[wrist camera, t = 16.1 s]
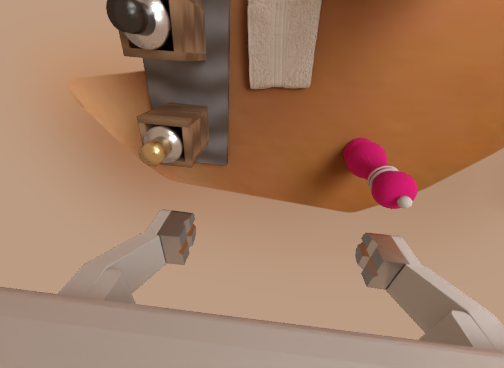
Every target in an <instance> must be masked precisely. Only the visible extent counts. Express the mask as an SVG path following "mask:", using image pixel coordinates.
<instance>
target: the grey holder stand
mask: <svg viewBox="0 0 504 368" xmlns="http://www.w3.org/2000/svg"><path fill="white" fill-rule="evenodd" d="M161 1H162V3H163V4H164V6H165V8H166V10H167V13H168V16H169V20H171V26H172V35H169V37H168V39H167V41H166V43H165V44H164V45H163V46H162V47H160V48H158V49H154V50H149V49H143V48H140V47H138V46H136V45H135V44H134V43H132V42H131V41H130V40H129V39H128V38H127V36H126V35H125V33H124V32H122V31H120V30H119V34H120V39H121V43H122V48H123V53H124V56H130V57H141V58H143V63H144V69H145V75H146V81H147V86H148V92H149V98H150V104H151V110H150V111H148V112H146V113H143V114H141V115H139V116H137V120H138V125H139V130H140V134H141V139H142V144H143V146H144V136H145V134H146V132H147V131H148V130H150V129H151V128H153V127H156V126H165V127H168V128H170V129H174V128H175V127H182V134H183V138H182V139H181V141H182V144H183V151H182V154H181V156H180V157H179V158H178V159H177V160H176V161H174V162H172V163H162V162H161V163H160V164H161V165H171V166H181V167H190V168H192V166H193V165H194V164H195V162H197V163H207V164H217V165H227V164H228V116H229V48H230V0H161Z"/></svg>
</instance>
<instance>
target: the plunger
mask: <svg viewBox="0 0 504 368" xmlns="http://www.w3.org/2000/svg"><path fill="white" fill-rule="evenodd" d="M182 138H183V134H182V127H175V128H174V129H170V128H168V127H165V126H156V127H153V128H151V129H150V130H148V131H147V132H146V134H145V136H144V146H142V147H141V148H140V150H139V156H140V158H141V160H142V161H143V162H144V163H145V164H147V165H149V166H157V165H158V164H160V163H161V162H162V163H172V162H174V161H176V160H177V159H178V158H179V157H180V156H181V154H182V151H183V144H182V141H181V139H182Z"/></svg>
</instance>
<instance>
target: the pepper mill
mask: <svg viewBox="0 0 504 368" xmlns="http://www.w3.org/2000/svg"><path fill="white" fill-rule="evenodd" d="M343 157H344V159H345V161H346V165H347V168H348V169H349V170H350V171H351V172H352V173H353V174H354V175H356V176H358V177H361V178H365V179H367V183H368V186H369V187H370V188H371V191H372V196H373V198H374V199H375V201H376V202H377V203H378V204H380V205H382V206H383V207H386V208H391V209H397V208H409V207H410V206H411V205H412V201H413V200H414V199H415V197H416V194H417V185H416V182H415V181H414V179H413V178H412V177H411V176H409V175H408V174H406V173H404V172H400V171H398V170H397V169H396V168H395V167H392V166H388V164H387V156H386V153H385V151H384V150H383V148H382V147H381V146H380V145H378V144H376V143H373V142H371V141H369V140H368V139H365V138H358V139H355V140H352V141H351V142H349V143H348V144H347V146H346V147H345V149H344V152H343Z"/></svg>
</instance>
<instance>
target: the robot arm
mask: <svg viewBox="0 0 504 368" xmlns="http://www.w3.org/2000/svg"><path fill="white" fill-rule="evenodd" d="M194 220H195V218H194V214H193V213H187V212H179V211H170V210H161V211H160V212H159V213H158V214H157V216H156V217H155V219H154V220H153V221H152V223H151V224H150V226H149V227H148V229H147V230H146V231H145V233H144V234H141V233H140V234H139V235H137V236H135V237H133V238H132V239H130V240H128V241H126V242H124V243H122V244H120V245H118V246H117V247H115V248H113V249H111V250H109V251H107V252H106V253H104V254H102V255H100V256H98V257H96V258H95V259H93V260H91V261H89V262H87V263H85V264H84V265H83V266H82V267H81V269H79V271H78V272H77V273H76V274H75V275H74V276H73V277H72V278H71V280H70V281H69V282H68V283H67V284H66V285H65V286H64V287H63V289H62V290H61V291H60V292H59V293H58V294H51V293H44V292H36V291H28V290H21V289H12V288H5V287H0V368H504V327H503V325H502V324H501V323H500V322H499V320H498V319H497V318H496V317H495V316H494V315H493V314H492V313H490V312H489V311H488V310H486V309H485V308H484V307H482V306H481V305H479V304H478V303H476V302H475V301H473V300H472V299H471V298H469V297H468V296H467V295H465V294H464V293H462V292H461V291H460V290H458V289H457V288H455V287H454V286H452V285H451V284H450V283H448V282H447V281H445V280H444V279H443V278H441V277H440V276H438V275H437V274H435V273H434V272H433V271H431V270H430V269H429V268H427V267H425V266H422V265H421V264H420V262H419V261H418V259H417V258H416V256H415V255H414V254H413V252H412V251H411V249H410V248H409V246H408V245H407V244H406V242H405V241H404V239H403V238H401V237H400V236H394V235H383V234H373V233H365V234H364V235H363V236H362V238H361V239H362V241H363V242H362V243H361V244H359V245H358V246H357V248H356V255H355V256H356V261H357V263H358V265H359V266H360V267H361V268H362V269H363V271H362V273H361V274H362V276H363V279H364V281H365V284H366V286H367V287H371V288H378V289H384V290H386V291H387V292H388V293H389V294H390V295H391V297H393V299H394V300H395V301H396V302H397V303H398V304H399V305H400V306H401V307H402V308H403V309H404V311H405V312H406V313H407V314H408V315H409V316H410V317H411V318H412V319H413V320H414V321H415V322H416V323H417V325H418V326H419V327H420V328H421V329H422V330H423V331H424V332H425V335H423V336H422V337H421V338H420V339H419V340H413V339H405V338H397V337H390V336H382V335H374V334H366V333H358V332H350V331H343V330H335V329H327V328H318V327H311V326H303V325H295V324H288V323H279V322H272V321H264V320H255V319H248V318H239V317H232V316H224V315H216V314H208V313H201V312H193V311H185V310H176V309H169V308H161V307H153V306H146V305H145V306H144V305H138V304H135V301H134V299H133V297H132V295H131V294H132V293H133V292H134V291H135V290H136V289H138V288H139V287H140V286H141V285H142V284H143V283H145V282H146V281H147V280H148V279H149V278H151V277H152V276H153V275H154V274H155V273H156V272H157V271H159V270H160V269H161V268H162V267H163V266H164V265H166V263H170V264H180V265H184V264H185V262H186V259H187V257H188V255H189V247H191V246H192V245H193V242H194V239H195V235H196V227H195V225H194V224H193V222H194Z"/></svg>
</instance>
